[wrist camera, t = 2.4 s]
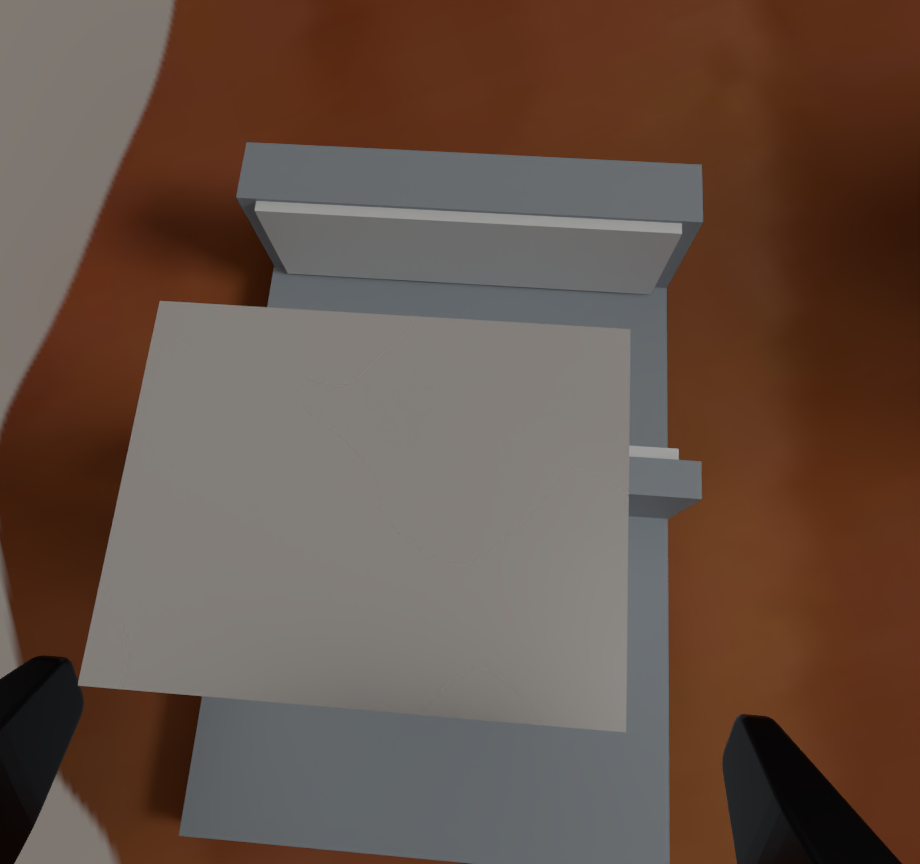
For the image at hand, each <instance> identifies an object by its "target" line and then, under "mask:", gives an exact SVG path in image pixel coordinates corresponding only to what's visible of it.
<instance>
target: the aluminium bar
mask: <svg viewBox="0 0 920 864" xmlns="http://www.w3.org/2000/svg"><path fill="white" fill-rule="evenodd" d="M629 423H630V329H620V328H603V327H586V326H570V325H553V324H536V323H520V322H503V321H486V320H470V319H453V318H436V317H420V316H403V315H386V314H370V313H353V312H336V311H320V310H303V309H286V308H270V307H253V306H236V305H220V304H203V303H186V302H170V301H160V303H159V307H158V312H157V317H156V321H155V326H154V331H153V335H152V340H151V345H150V349H149V354H148V359H147V363H146V368H145V373H144V377H143V382H142V387H141V392H140V396H139V401H138V406H137V410H136V415H135V420H134V424H133V429H132V434H131V438H130V443H129V448H128V452H127V457H126V462H125V466H124V471H123V476H122V480H121V485H120V490H119V494H118V499H117V504H116V508H115V513H114V518H113V522H112V527H111V532H110V536H109V541H108V546H107V550H106V555H105V560H104V564H103V569H102V574H101V578H100V583H99V588H98V592H97V597H96V602H95V606H94V611H93V616H92V620H91V625H90V630H89V634H88V639H87V644H86V648H85V653H84V658H83V662H82V667H81V672H80V676H79V681H78V686H89V687H101V688H112V689H124V690H136V691H147V692H159V693H171V694H182V695H194V696H206V697H217V698H229V699H241V700H252V701H264V702H276V703H287V704H299V705H311V706H322V707H334V708H346V709H357V710H369V711H381V712H392V713H404V714H416V715H427V716H439V717H451V718H462V719H474V720H486V721H497V722H509V723H521V724H532V725H544V726H556V727H567V728H579V729H591V730H602V731H614V732H626V707H627V612H628V518H629Z"/></svg>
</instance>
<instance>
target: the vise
mask: <svg viewBox="0 0 920 864" xmlns="http://www.w3.org/2000/svg"><path fill="white" fill-rule="evenodd" d="M236 198H237V200H238V202H239V204H240V205H241V207H242V209H243V211H244V213H245V214H246V216H247V218H248V220H249V221H250V223H251V225H252V227H253V229H254V230H255V232H256V234H257V236H258V238H259V239H260V241H261V243H262V245H263V246H264V248H265V250H266V252H267V254H268V255H269V257H270V259H271V261H272V263H273V264H274V269H273V275H272V281H271V287H270V293H269V299H268V305H267V307H270V308H286V309H303V310H320V311H336V312H353V313H370V314H386V315H403V316H420V317H436V318H453V319H470V320H486V321H503V322H520V323H536V324H553V325H570V326H586V327H603V328H620V329H630V423H629V518H628V612H627V707H626V732H614V731H602V730H591V729H579V728H567V727H556V726H544V725H532V724H521V723H509V722H497V721H486V720H474V719H462V718H451V717H439V716H427V715H416V714H404V713H392V712H381V711H369V710H357V709H346V708H334V707H322V706H311V705H299V704H287V703H276V702H264V701H252V700H241V699H229V698H217V697H206V696H202V700H201V706H200V712H199V718H198V724H197V730H196V736H195V742H194V748H193V754H192V760H191V766H190V772H189V778H188V784H187V790H186V796H185V802H184V808H183V813H182V819H181V825H180V831H179V836H187V837H198V838H209V839H219V840H230V841H240V842H251V843H261V844H272V845H282V846H293V847H303V848H314V849H324V850H335V851H345V852H356V853H367V854H377V855H388V856H398V857H409V858H419V859H430V860H440V861H451V862H461V863H472V864H670V861H669V658H668V519H669V518H670V517H672V516H674V515H676V514H677V513H679V512H681V511H682V510H684V509H686V508H688V507H689V506H691V505H693V504H695V503H696V502H698V501H700V500H701V499H702V472H701V461H687V460H679V449H674V448H667V286H668V285H669V283H670V281H671V279H672V277H673V276H674V274H675V272H676V270H677V268H678V267H679V265H680V263H681V261H682V259H683V258H684V256H685V254H686V252H687V250H688V249H689V247H690V245H691V243H692V241H693V240H694V238H695V236H696V234H697V232H698V231H699V229H700V227H701V225H702V223H703V194H702V165H697V164H677V163H657V162H637V161H616V160H596V159H576V158H555V157H535V156H515V155H495V154H474V153H454V152H434V151H413V150H393V149H373V148H353V147H332V146H312V145H292V144H271V143H251V142H247V143H246V148H245V153H244V159H243V164H242V169H241V174H240V180H239V185H238V190H237V196H236Z"/></svg>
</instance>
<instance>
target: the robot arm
mask: <svg viewBox="0 0 920 864" xmlns="http://www.w3.org/2000/svg"><path fill="white" fill-rule="evenodd" d="M83 704H84V700H83V694H82V691H81V688H80V686H78V679H77V677H76V674H75V671H74V668H73V665H72V663H71V661H70V660H68V659H67V658H65V657H55V656H37V657H34V658H32V659H30V660H29V661H27V662H26V663H24V664H23V665H21V666H19V667H18V668H16V669H15V670H13V671H12V672H10V673H9V674H7V675H6V676H4V677H3V678H1V679H0V864H14V863H15V861H16V859H17V857H18V855H19V854H20V852H21V850H22V848H23V846H24V844H25V842H26V840H27V838H28V836H29V834H30V833H31V830H32V829H33V827H34V824H35V822H36V820H37V817H38V815H39V813H40V811H41V809H42V807H43V804H44V802H45V800H46V797H47V795H48V792H49V790H50V788H51V785H52V783H53V781H54V778H55V776H56V774H57V771H58V769H59V767H60V764H61V762H62V760H63V757H64V755H65V752H66V750H67V748H68V745H69V743H70V741H71V738H72V736H73V734H74V731H75V729H76V726H77V724H78V722H79V719H80V717H81V714H82V710H83ZM722 765H723V775H724V782H725V788H726V795H727V801H728V807H729V814H730V820H731V827H732V833H733V840H734V846H735V853H736V859H737V864H902V863H901V862H900V861H899V860H898V859H897V858H896V856H895V855H894V854H893V853H892V852H891V851H890V850H889V849H888V847H887V846H886V845H885V844H884V843H883V842H882V841H881V840H880V838H879V837H878V836H877V835H876V834H875V833H874V832H873V831H872V829H871V828H870V827H869V826H868V825H867V824H866V823H865V822H864V820H863V819H862V818H861V817H860V816H859V815H858V814H857V813H856V811H855V810H854V809H853V808H852V807H851V806H850V805H849V804H848V802H847V801H846V800H845V799H844V798H843V797H842V796H841V795H840V793H839V792H838V791H837V790H836V789H835V788H834V787H833V786H832V784H831V783H830V782H829V781H828V780H827V779H826V778H825V777H824V775H823V774H822V773H821V772H820V771H819V770H818V769H817V768H816V766H815V765H814V764H813V763H812V762H811V761H810V760H809V759H808V757H807V756H806V755H805V754H804V753H803V752H802V751H801V750H800V748H799V747H798V746H797V745H796V744H795V743H794V742H793V741H792V739H791V738H790V737H789V736H788V735H787V734H786V733H785V732H784V730H783V729H782V728H781V727H780V726H779V725H778V724H777V723H776V722H775V721H774V720H773V719H771V718H769V717H766V716H758V715H746V714H742V715H739V716H738V717H737V718H736V720H735V722H734V725H733V727H732V730H731V733H730V736H729V739H728V742H727V744H726V747H725V750H724V754H723V763H722Z"/></svg>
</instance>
